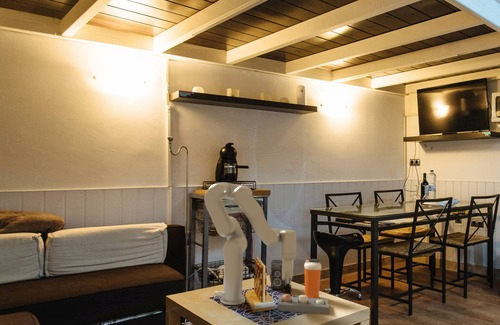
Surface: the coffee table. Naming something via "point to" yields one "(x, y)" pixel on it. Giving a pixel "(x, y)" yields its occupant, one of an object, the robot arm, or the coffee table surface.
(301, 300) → the button cream
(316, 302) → the button sage
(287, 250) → the robot arm
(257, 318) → the coffee table surface
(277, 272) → the camera
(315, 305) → the panel
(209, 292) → the coffee table surface
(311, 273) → the shaker bottle
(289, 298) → the button rust
